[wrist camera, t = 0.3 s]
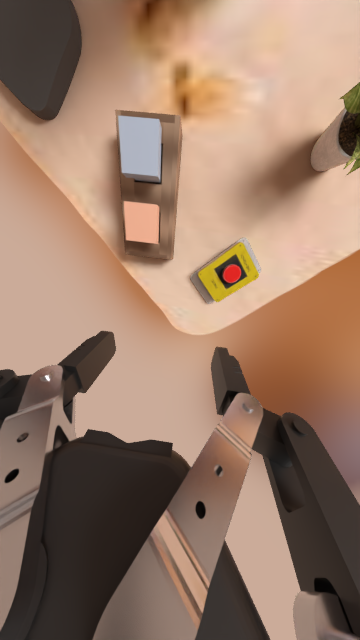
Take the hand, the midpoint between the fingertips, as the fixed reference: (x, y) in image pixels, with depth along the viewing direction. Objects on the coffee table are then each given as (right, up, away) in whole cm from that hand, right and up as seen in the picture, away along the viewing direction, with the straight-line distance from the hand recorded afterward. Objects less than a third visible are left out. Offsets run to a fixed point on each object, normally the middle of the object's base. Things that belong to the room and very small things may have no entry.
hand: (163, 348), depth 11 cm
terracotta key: (-5, +21, +17) cm, 27 cm away
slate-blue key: (-4, +29, +13) cm, 32 cm away
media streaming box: (-22, +46, +11) cm, 52 cm away
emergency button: (+12, +14, +24) cm, 30 cm away
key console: (-4, +27, +18) cm, 33 cm away
